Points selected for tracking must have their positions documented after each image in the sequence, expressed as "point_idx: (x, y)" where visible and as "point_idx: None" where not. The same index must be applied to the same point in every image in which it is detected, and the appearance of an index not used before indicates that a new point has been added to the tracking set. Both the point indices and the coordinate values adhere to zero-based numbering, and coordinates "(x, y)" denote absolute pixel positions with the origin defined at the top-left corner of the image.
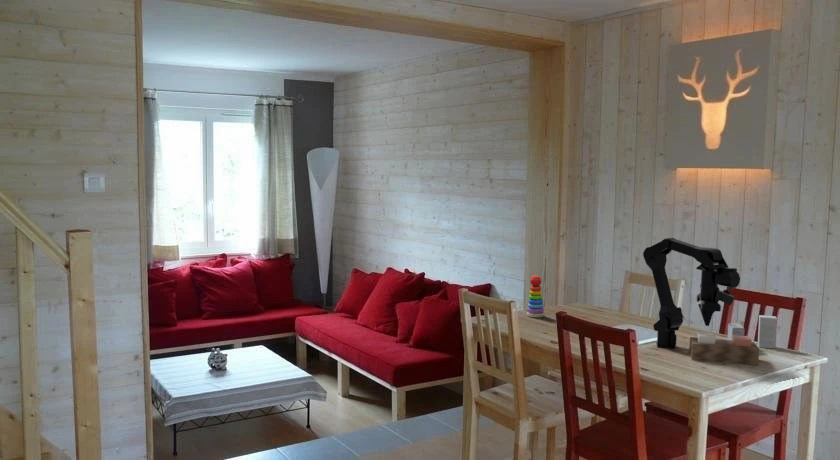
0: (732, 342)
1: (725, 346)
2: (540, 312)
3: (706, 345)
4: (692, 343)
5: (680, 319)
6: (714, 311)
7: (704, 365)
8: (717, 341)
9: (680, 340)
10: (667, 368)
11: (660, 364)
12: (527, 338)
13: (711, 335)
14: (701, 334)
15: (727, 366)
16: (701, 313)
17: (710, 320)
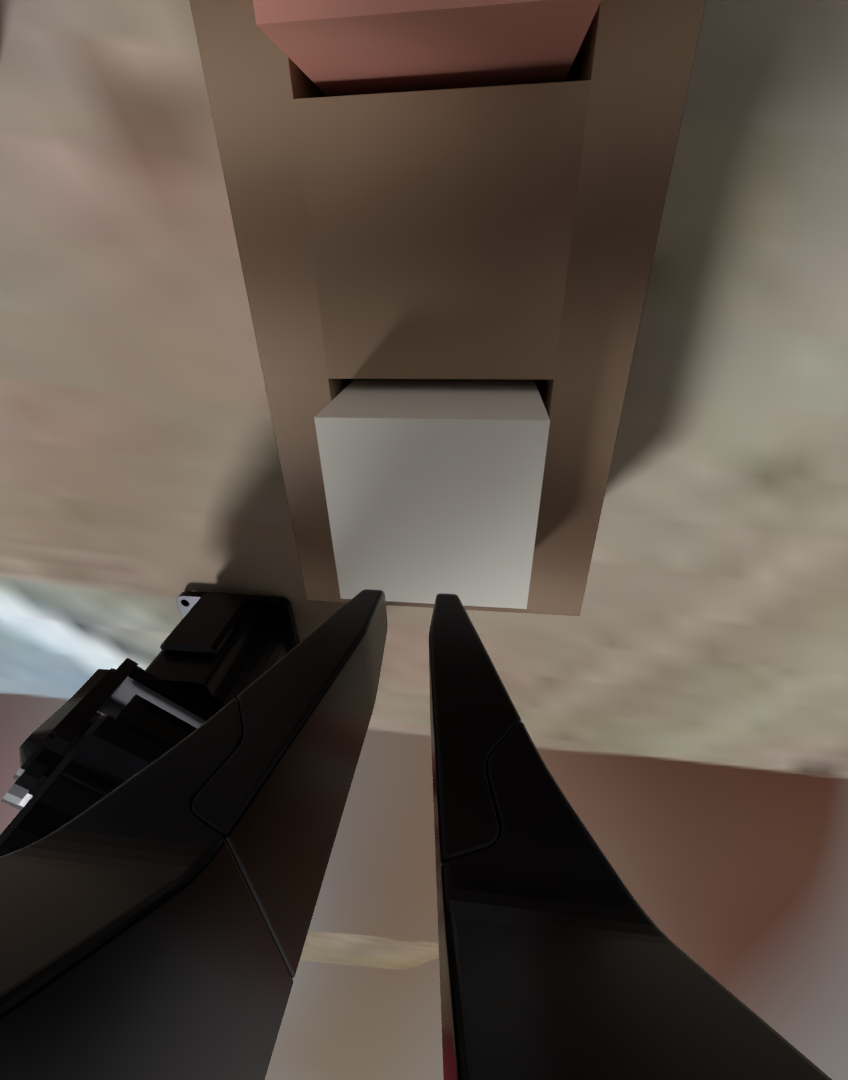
0: (347, 73)
1: (652, 252)
2: None
3: (600, 495)
4: (545, 610)
5: (117, 771)
6: (744, 1027)
7: (711, 460)
8: (385, 340)
9: (26, 534)
10: (795, 688)
11: (699, 707)
12: (390, 968)
13: (447, 462)
14: (435, 574)
15: (742, 236)
16: (317, 887)
17: (492, 666)
